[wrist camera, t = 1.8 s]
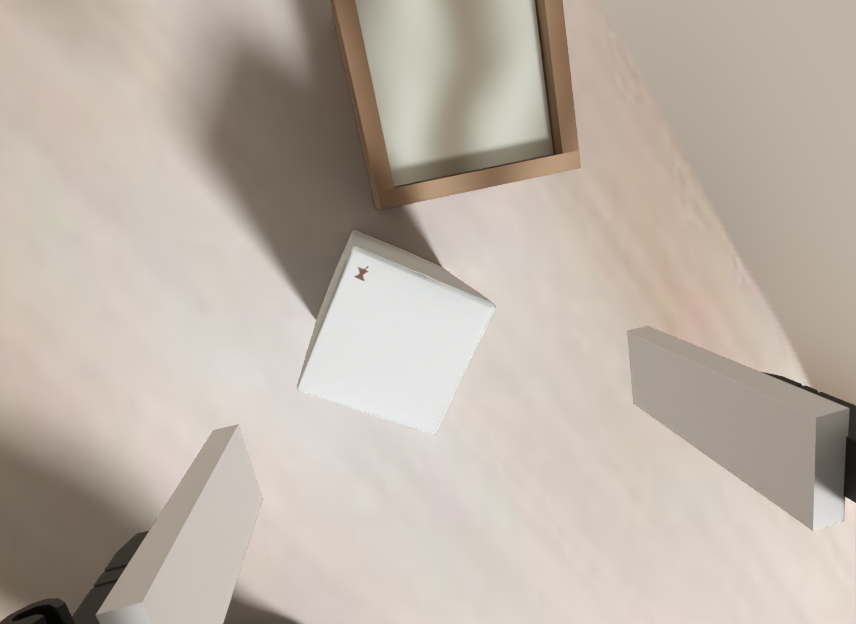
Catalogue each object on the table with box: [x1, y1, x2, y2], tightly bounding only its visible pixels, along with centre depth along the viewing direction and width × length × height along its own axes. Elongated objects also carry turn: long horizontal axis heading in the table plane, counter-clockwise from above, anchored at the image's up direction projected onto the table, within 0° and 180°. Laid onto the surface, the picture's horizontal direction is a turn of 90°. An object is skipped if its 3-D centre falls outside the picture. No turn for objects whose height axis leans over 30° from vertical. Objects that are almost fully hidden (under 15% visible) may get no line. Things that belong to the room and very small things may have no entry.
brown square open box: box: [331, 0, 581, 210], centre depth 28 cm, size 12×12×6 cm
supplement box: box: [297, 230, 496, 435], centre depth 27 cm, size 7×7×13 cm
